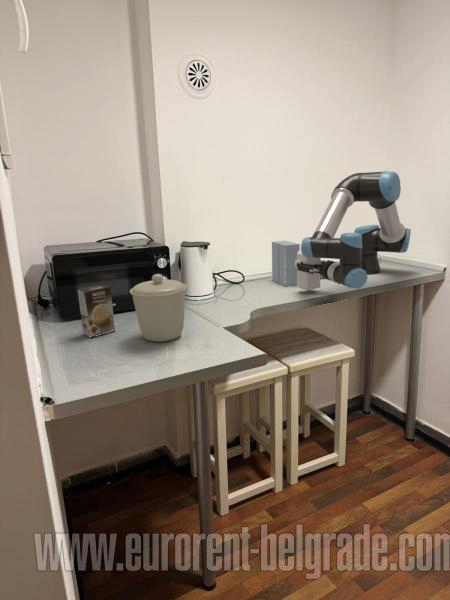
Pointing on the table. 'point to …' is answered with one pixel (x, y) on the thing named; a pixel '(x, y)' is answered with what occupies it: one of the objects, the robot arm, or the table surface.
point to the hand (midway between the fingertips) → (304, 262)
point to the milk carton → (307, 279)
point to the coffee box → (96, 310)
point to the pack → (284, 262)
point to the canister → (160, 308)
